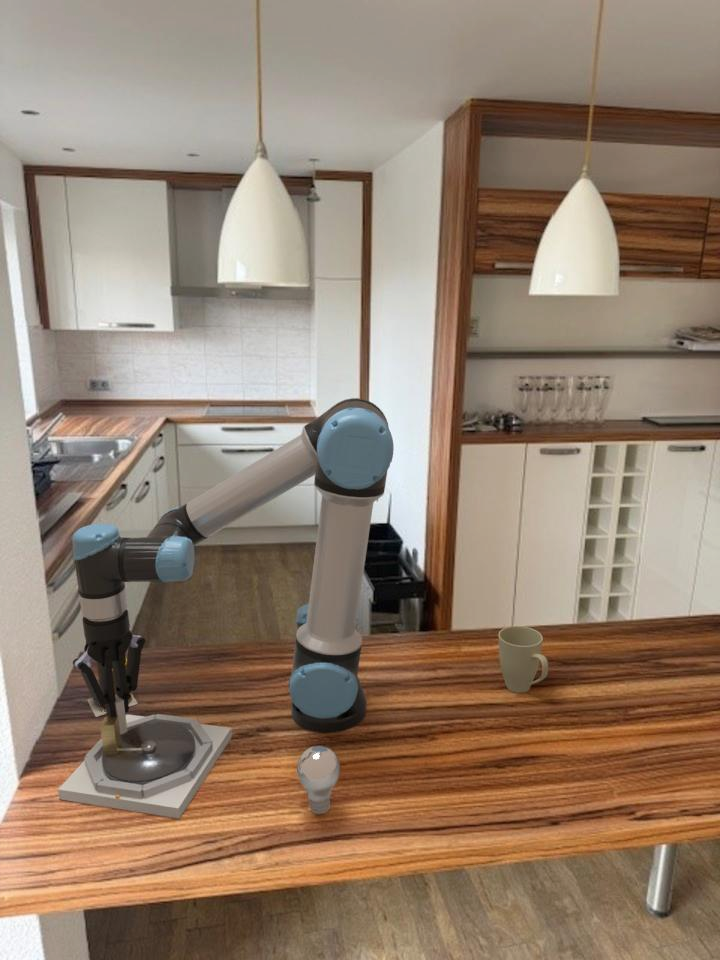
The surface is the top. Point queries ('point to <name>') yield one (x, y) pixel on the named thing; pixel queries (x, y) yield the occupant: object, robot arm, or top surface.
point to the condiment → (96, 706)
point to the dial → (145, 751)
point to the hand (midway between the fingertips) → (120, 730)
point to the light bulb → (318, 776)
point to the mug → (521, 657)
